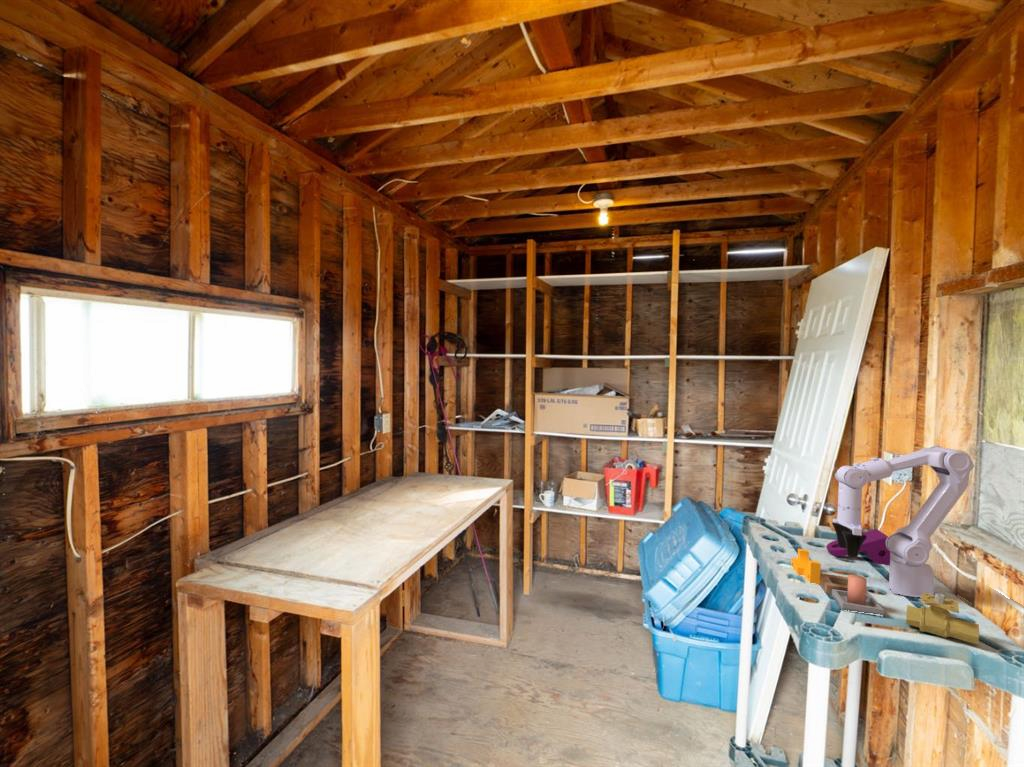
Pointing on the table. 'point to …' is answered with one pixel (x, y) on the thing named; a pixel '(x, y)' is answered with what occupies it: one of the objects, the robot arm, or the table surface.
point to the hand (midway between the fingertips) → (847, 551)
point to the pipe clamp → (806, 566)
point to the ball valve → (941, 619)
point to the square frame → (833, 583)
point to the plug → (856, 590)
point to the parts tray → (869, 608)
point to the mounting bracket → (867, 547)
